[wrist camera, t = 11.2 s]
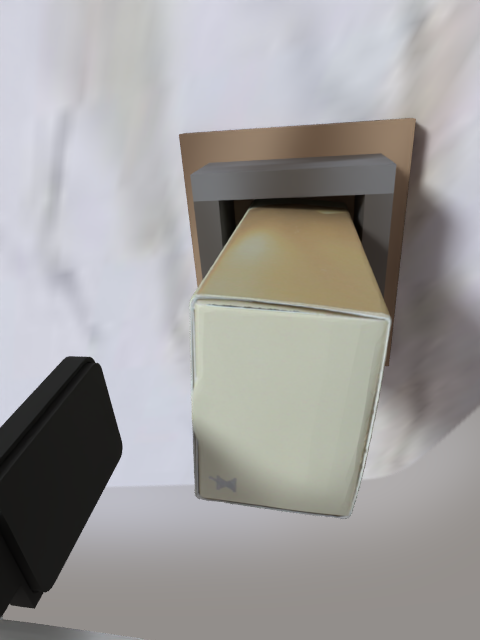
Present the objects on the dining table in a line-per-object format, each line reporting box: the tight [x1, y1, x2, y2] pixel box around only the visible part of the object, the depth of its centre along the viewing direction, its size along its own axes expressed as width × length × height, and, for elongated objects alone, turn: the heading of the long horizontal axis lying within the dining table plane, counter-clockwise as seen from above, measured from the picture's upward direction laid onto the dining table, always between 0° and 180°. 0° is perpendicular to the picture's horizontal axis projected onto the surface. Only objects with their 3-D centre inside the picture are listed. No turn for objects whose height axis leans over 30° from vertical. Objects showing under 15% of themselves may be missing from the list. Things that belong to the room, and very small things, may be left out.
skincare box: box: [189, 198, 392, 519], centre depth 15 cm, size 6×4×12 cm
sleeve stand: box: [179, 118, 416, 366], centre depth 19 cm, size 10×12×4 cm
